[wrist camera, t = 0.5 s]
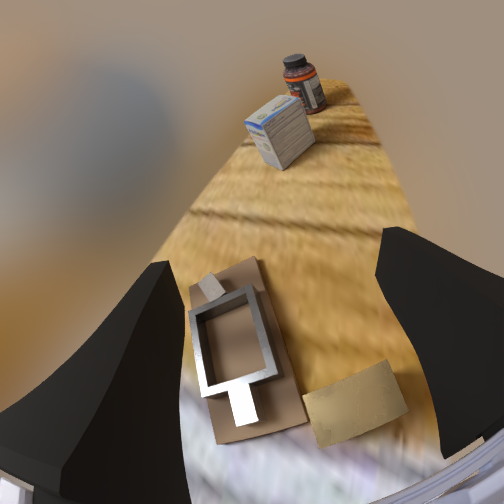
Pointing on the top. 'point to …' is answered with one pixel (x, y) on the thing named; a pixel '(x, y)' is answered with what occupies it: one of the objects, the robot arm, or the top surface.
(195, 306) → the brown board
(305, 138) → the medicine box
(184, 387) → the top surface
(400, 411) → the block
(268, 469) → the top surface
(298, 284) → the top surface
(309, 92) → the supplement bottle
